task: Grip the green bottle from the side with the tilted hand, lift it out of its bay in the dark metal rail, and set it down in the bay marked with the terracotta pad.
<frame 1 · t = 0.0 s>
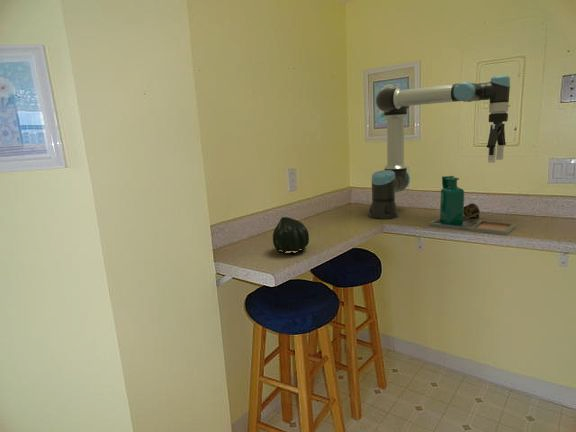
hand: (495, 161, 176), 28 cm above the worktop, fingers open, 13 cm apart
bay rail: (470, 226, 176), on the worktop
squash: (291, 251, 156), on the worktop
green bottle: (450, 224, 182), resting in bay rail
brown mottled shell: (465, 218, 191), on the worktop
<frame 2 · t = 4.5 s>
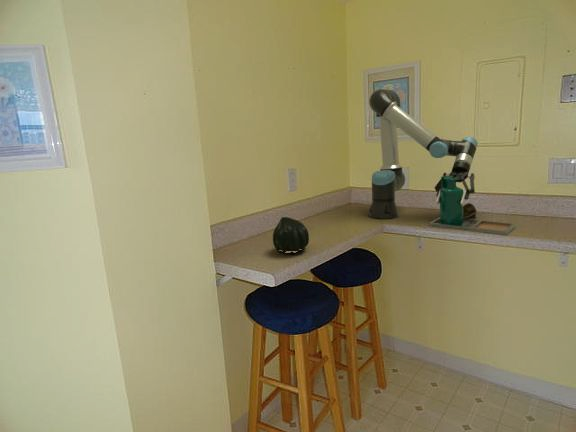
hand: (449, 203, 177), 10 cm above the worktop, fingers closed on green bottle, 10 cm apart
green bottle: (450, 224, 182), resting in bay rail, touching gripper
brown mottled shell: (462, 218, 191), on the worktop
everything else where it was.
when the fingers open (12 cm above the worktop, at t = 11.1 s): green bottle moves 1 cm, resting on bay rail.
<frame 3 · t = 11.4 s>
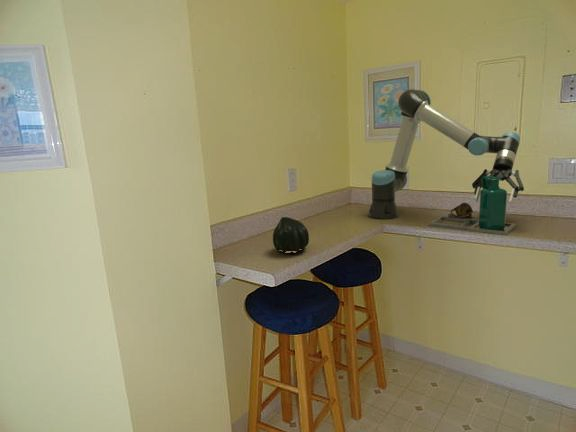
hand: (492, 201, 165), 12 cm above the worktop, fingers open, 13 cm apart
green bottle: (490, 227, 170), resting on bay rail
brown mottled shell: (458, 218, 193), on the worktop
everything else where it was.
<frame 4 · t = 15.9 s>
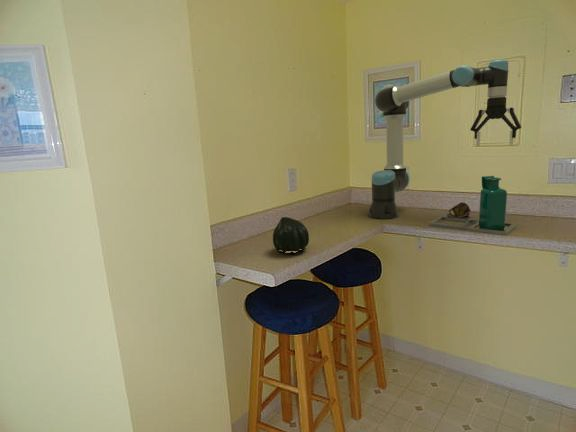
hand: (494, 146, 176), 35 cm above the worktop, fingers open, 13 cm apart
at the end: green bottle inside the target area (0.8 cm from its centre), resting on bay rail; green bottle tilted 0°; the gripper is holding nothing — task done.
